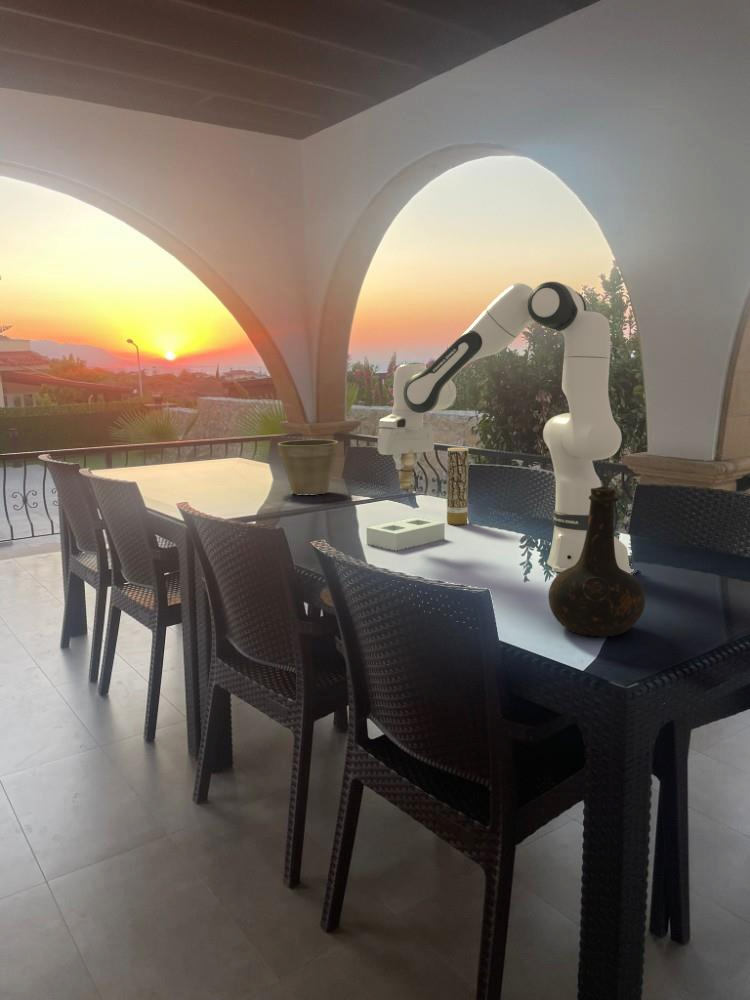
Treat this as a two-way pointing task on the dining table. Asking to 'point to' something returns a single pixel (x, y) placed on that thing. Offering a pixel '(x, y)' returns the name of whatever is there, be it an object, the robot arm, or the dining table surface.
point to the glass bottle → (597, 580)
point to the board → (405, 533)
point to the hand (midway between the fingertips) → (406, 468)
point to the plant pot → (308, 464)
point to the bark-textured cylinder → (457, 486)
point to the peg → (406, 470)
